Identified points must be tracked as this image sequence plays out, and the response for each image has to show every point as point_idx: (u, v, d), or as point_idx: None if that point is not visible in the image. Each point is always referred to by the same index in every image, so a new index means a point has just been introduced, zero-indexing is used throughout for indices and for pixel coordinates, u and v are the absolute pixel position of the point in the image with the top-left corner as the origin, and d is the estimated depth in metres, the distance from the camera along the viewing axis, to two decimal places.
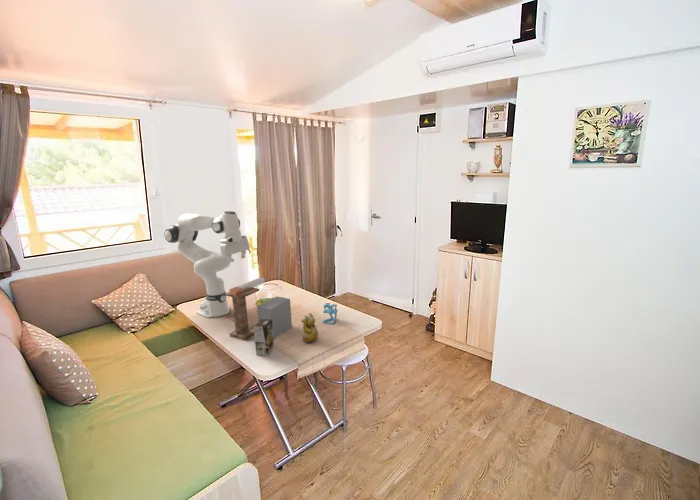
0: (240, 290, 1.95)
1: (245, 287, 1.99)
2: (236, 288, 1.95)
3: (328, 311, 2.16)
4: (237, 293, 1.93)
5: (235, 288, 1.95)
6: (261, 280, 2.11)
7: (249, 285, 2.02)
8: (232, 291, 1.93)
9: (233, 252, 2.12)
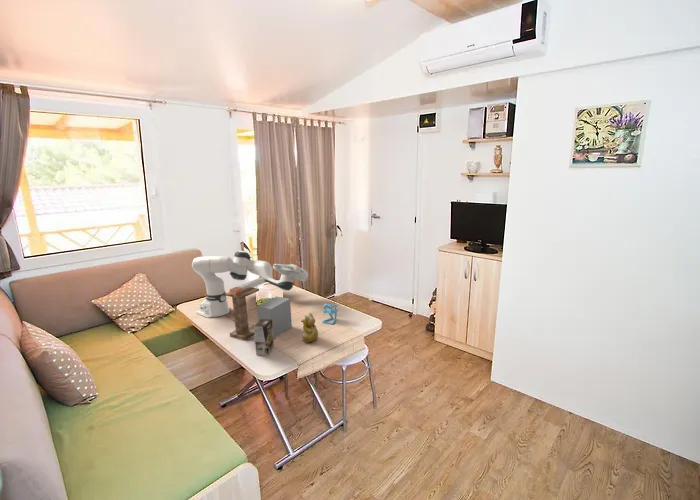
0: (240, 290, 1.95)
1: (245, 287, 1.99)
2: (236, 288, 1.95)
3: (328, 311, 2.16)
4: (237, 293, 1.93)
5: (235, 288, 1.95)
6: (261, 280, 2.11)
7: (249, 285, 2.02)
8: (232, 291, 1.93)
9: None
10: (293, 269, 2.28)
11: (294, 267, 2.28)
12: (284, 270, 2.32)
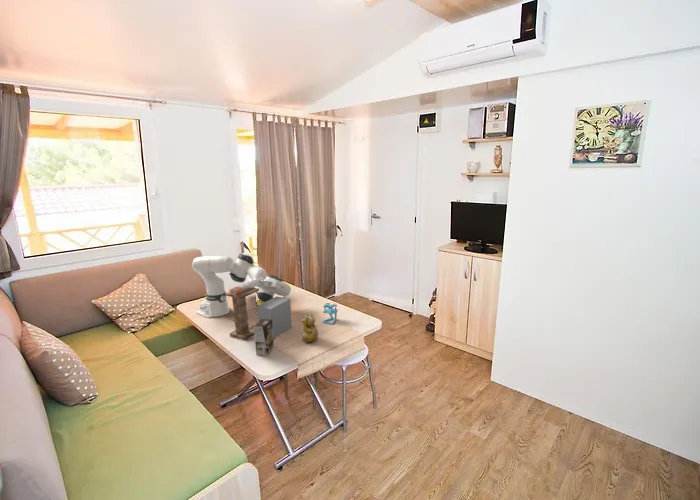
0: (240, 290, 1.95)
1: (245, 287, 1.99)
2: (236, 288, 1.95)
3: (328, 311, 2.16)
4: (237, 293, 1.93)
5: (235, 288, 1.95)
6: None
7: (249, 285, 2.02)
8: (232, 291, 1.93)
9: None
10: (273, 285, 2.11)
11: (274, 282, 2.11)
12: (263, 285, 2.15)
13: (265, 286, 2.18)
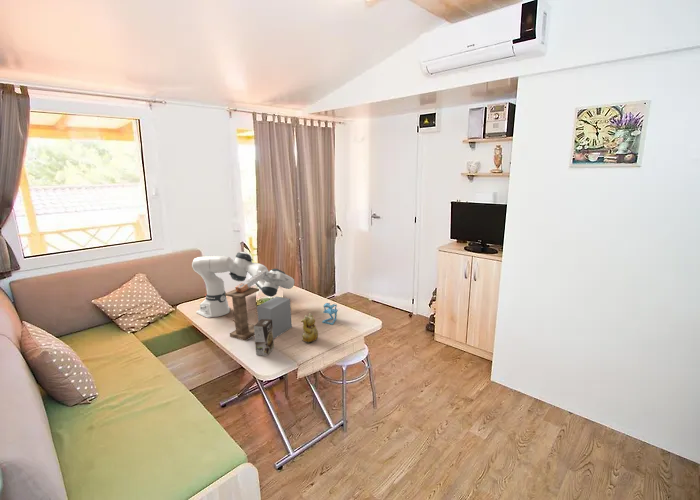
0: (246, 287, 1.98)
1: (250, 283, 2.02)
2: (241, 285, 1.98)
3: (328, 311, 2.16)
4: (243, 290, 1.97)
5: (241, 286, 1.98)
6: None
7: (254, 280, 2.05)
8: (238, 289, 1.96)
9: None
10: (277, 277, 2.13)
11: (278, 274, 2.14)
12: (268, 277, 2.18)
13: (269, 278, 2.20)
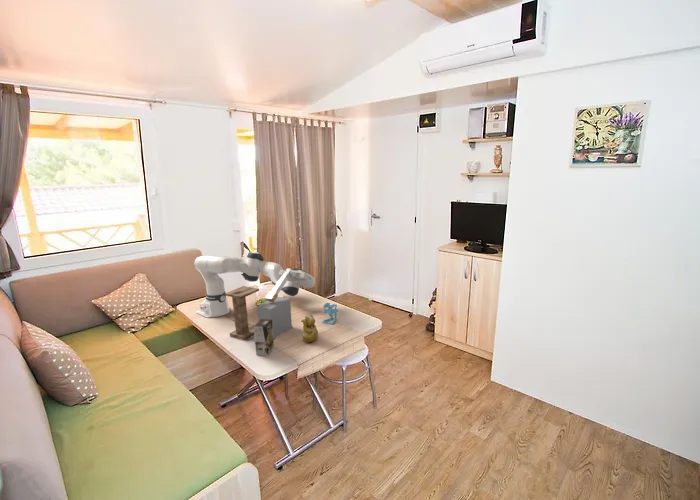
0: (275, 295, 2.02)
1: (278, 289, 2.05)
2: (271, 294, 2.01)
3: (328, 311, 2.16)
4: (274, 299, 2.01)
5: (270, 295, 2.01)
6: None
7: (281, 284, 2.07)
8: (269, 299, 2.00)
9: None
10: (301, 276, 2.14)
11: (302, 274, 2.14)
12: (291, 277, 2.18)
13: (292, 277, 2.21)
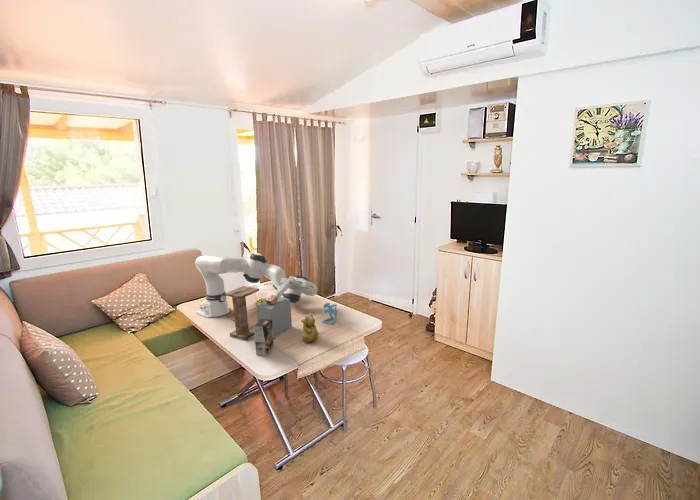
0: (275, 298, 2.00)
1: (279, 293, 2.04)
2: (271, 297, 2.00)
3: (328, 311, 2.16)
4: (273, 302, 1.99)
5: (270, 298, 1.99)
6: None
7: (282, 290, 2.06)
8: (268, 301, 1.99)
9: None
10: (302, 284, 2.13)
11: (303, 282, 2.14)
12: (293, 285, 2.18)
13: (294, 286, 2.20)
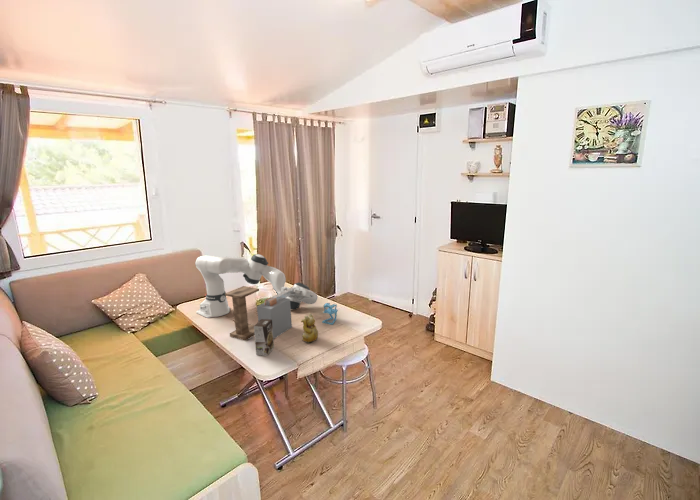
0: (275, 301, 2.00)
1: (279, 297, 2.04)
2: (271, 299, 2.00)
3: (328, 311, 2.16)
4: (272, 304, 1.98)
5: (270, 299, 1.99)
6: (292, 290, 2.15)
7: (282, 295, 2.07)
8: (267, 302, 1.98)
9: None
10: (302, 294, 2.15)
11: (303, 291, 2.15)
12: (293, 294, 2.19)
13: (294, 295, 2.21)
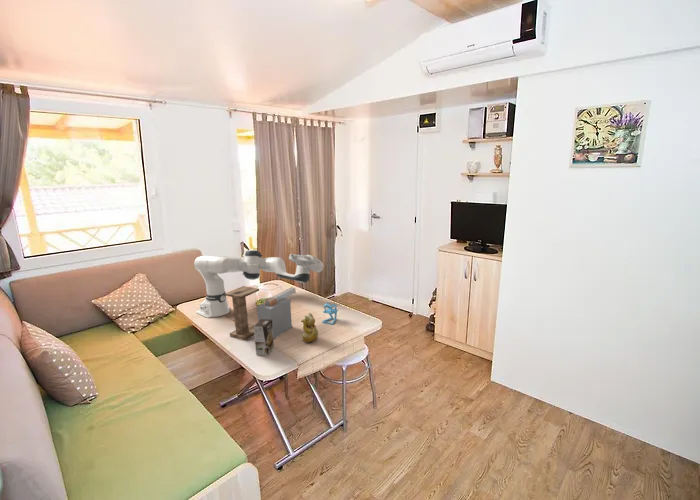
0: (275, 301, 2.00)
1: (279, 297, 2.04)
2: (271, 299, 2.00)
3: (328, 311, 2.16)
4: (272, 304, 1.98)
5: (270, 299, 1.99)
6: (292, 290, 2.15)
7: (282, 295, 2.07)
8: (267, 302, 1.98)
9: None
10: (310, 259, 2.26)
11: (311, 257, 2.26)
12: (300, 260, 2.30)
13: (302, 261, 2.33)
